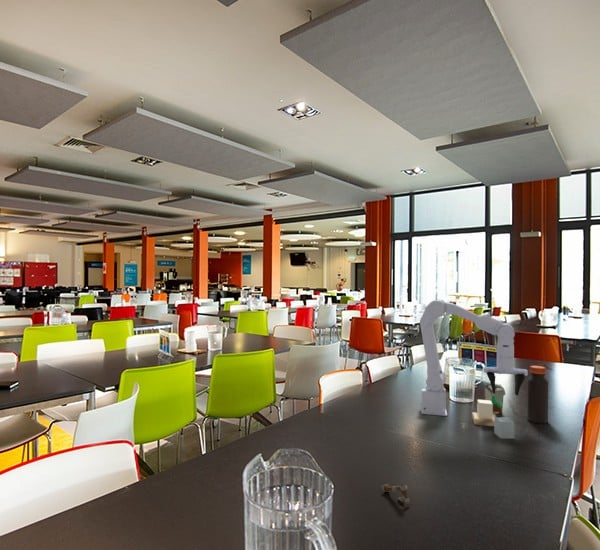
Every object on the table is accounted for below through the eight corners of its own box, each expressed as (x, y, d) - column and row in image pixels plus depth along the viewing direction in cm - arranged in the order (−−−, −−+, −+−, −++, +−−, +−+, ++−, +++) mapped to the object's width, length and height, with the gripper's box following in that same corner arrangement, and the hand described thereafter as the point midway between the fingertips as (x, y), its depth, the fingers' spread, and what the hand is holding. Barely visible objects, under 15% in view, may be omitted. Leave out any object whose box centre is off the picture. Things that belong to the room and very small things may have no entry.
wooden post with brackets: (408, 506, 94) (403, 484, 96) (386, 505, 101) (381, 485, 102) (414, 504, 95) (408, 482, 97) (391, 503, 101) (386, 483, 103)
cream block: (479, 418, 152) (479, 402, 152) (477, 414, 156) (477, 399, 156) (492, 419, 151) (492, 404, 151) (490, 415, 155) (490, 400, 155)
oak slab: (474, 425, 151) (474, 419, 151) (472, 418, 159) (472, 412, 159) (498, 428, 149) (499, 421, 149) (495, 421, 156) (495, 414, 156)
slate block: (500, 438, 138) (500, 421, 138) (494, 433, 142) (494, 417, 142) (514, 438, 138) (514, 421, 138) (507, 433, 142) (507, 417, 142)
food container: (509, 418, 158) (509, 391, 158) (492, 417, 159) (492, 390, 159) (500, 408, 170) (500, 383, 170) (484, 407, 171) (484, 382, 171)
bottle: (547, 419, 157) (547, 366, 157) (549, 425, 151) (549, 369, 151) (526, 416, 160) (526, 364, 160) (527, 422, 154) (528, 367, 154)
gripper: (485, 357, 152) (485, 394, 152) (529, 359, 148) (529, 398, 148) (482, 354, 159) (482, 389, 159) (525, 356, 155) (524, 393, 155)
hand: (505, 393), depth 154 cm, fingers open, 7 cm apart
